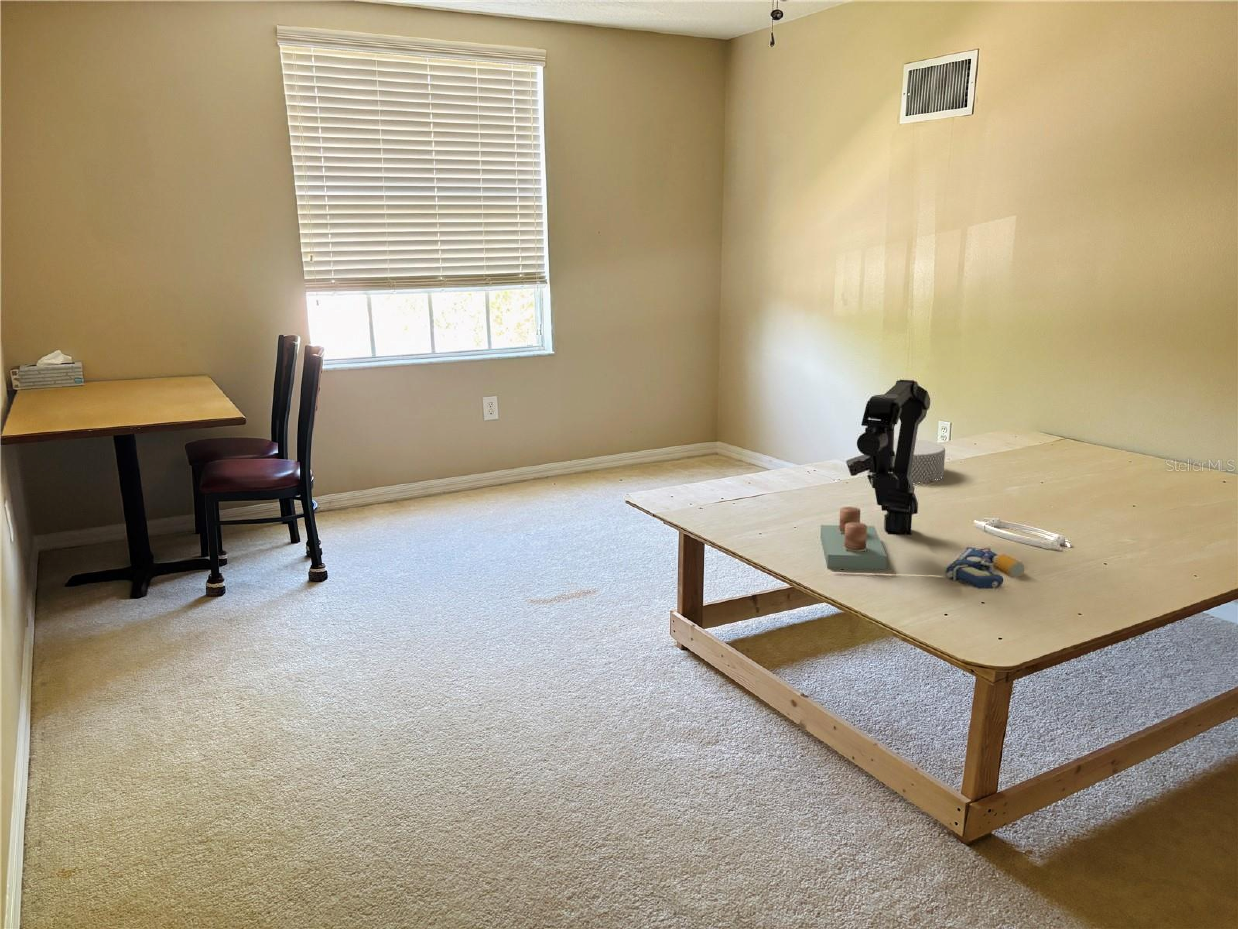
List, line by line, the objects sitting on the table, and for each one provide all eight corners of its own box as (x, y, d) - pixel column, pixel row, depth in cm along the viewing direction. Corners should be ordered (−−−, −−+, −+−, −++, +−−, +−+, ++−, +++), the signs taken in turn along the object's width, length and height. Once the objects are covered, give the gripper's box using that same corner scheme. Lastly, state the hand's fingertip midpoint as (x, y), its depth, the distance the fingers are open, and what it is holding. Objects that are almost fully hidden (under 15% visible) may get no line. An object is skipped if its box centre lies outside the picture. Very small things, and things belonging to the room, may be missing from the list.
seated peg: (858, 540, 224) (859, 507, 222) (860, 547, 219) (861, 513, 217) (837, 540, 225) (838, 506, 222) (839, 547, 220) (840, 512, 217)
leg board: (873, 540, 226) (874, 526, 225) (886, 571, 204) (886, 556, 203) (820, 538, 228) (820, 525, 227) (827, 570, 206) (827, 554, 205)
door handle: (988, 523, 238) (1076, 546, 217) (967, 530, 232) (1055, 554, 212) (989, 514, 237) (1077, 536, 217) (968, 521, 232) (1055, 544, 211)
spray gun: (1031, 568, 203) (968, 556, 213) (1032, 551, 202) (968, 540, 212) (1006, 598, 188) (939, 584, 198) (1007, 580, 187) (940, 567, 196)
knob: (882, 462, 306) (856, 477, 287) (883, 435, 304) (857, 449, 285) (952, 471, 292) (930, 488, 272) (954, 442, 289) (931, 457, 270)
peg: (864, 558, 212) (865, 522, 209) (866, 565, 206) (868, 529, 204) (842, 557, 212) (843, 522, 210) (844, 565, 207) (846, 528, 205)
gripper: (845, 437, 221) (843, 493, 225) (852, 456, 203) (850, 516, 207) (889, 437, 219) (887, 493, 223) (900, 455, 201) (897, 517, 205)
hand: (879, 504), depth 215 cm, fingers closed
